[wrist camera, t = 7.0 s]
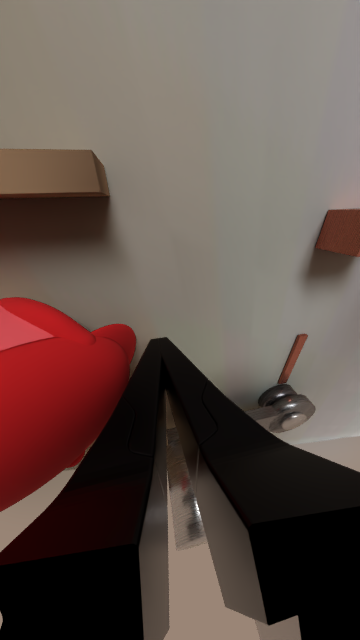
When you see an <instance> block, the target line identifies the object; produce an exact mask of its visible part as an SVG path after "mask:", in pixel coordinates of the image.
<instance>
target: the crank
mask: <svg viewBox="0 0 360 640" xmlns="http://www.w3.org/2000/svg"><path fill="white" fill-rule="evenodd" d="M314 412H315V406H314V405H313V404H312V403H311V401H310V400H309V399H308V398H307V397H306V396H305V395H301V394H298V395H292V396H288V397H285V398H283V399H281V400H279V401H277V402H276V403H274V404H273V405H271V406H267V407H262V408H258V409H254V410H249V411H245V413H247V414H248V415H249V416H250V417H251V418H253V419H254V420H255V421H256V422H258V423H259V424H260V425H261V426H263V427H264V428H265V429H266V430H268V431H271V432H275V433H279V432H284V431H288V430H291V429H293V428H296V427H298V426H300V425H301V424H303V423H304V422H306V421H307V420H308V419H309V418H310V417H311V416H312V415H313V414H314ZM166 430H167V437H168V445H167V446H166V449H167V471H168V481H169V490H170V499H171V507H172V517H173V526H174V535H175V544H176V550H184V549H188V548H192V547H195V546H199V545H201V544H204V543H207V542H208V541H207V538H206V534H205V530H204V527H203V523H202V519H201V516H200V512H199V508H198V505H197V501H196V497H195V494H194V490H193V487H192V483H191V479H190V476H189V472H188V468H187V465H186V461H185V457H184V454H183V450H182V446H181V443H180V439H179V435H178V432H177V428H176V427H175V428H171V429H166Z"/></svg>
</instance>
